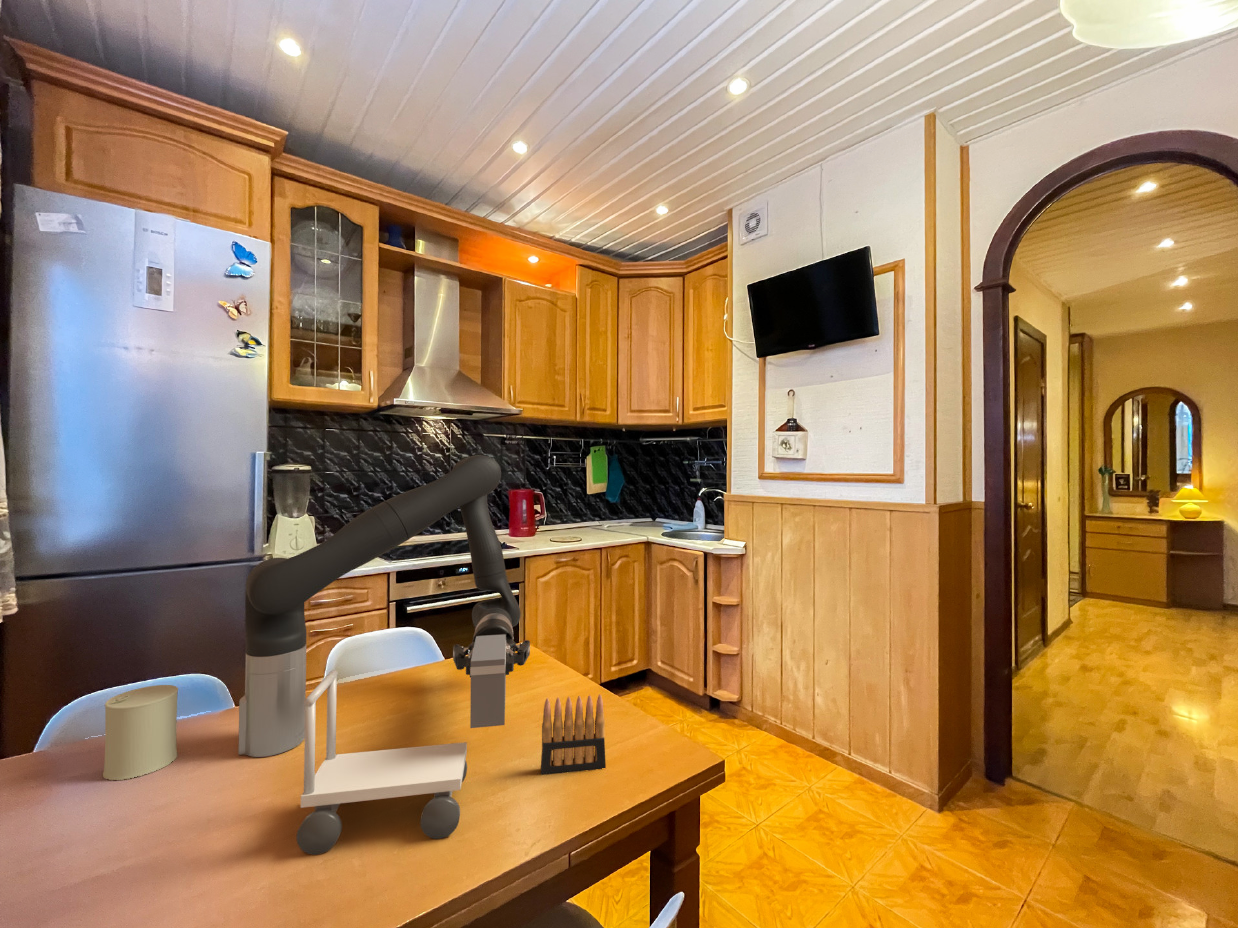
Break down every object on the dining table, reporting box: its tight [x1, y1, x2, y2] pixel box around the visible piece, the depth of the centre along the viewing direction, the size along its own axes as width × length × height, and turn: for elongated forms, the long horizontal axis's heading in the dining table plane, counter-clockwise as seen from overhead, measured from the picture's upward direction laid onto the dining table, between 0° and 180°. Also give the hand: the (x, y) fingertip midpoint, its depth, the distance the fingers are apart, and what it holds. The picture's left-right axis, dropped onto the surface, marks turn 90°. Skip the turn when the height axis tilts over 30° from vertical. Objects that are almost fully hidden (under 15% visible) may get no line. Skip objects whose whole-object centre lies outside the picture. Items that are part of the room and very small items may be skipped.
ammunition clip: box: [540, 694, 607, 776], centre depth 87 cm, size 11×2×12 cm, turn 101°
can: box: [102, 684, 179, 781], centre depth 88 cm, size 9×9×12 cm
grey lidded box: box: [469, 634, 507, 729], centre depth 84 cm, size 5×12×10 cm, turn 12°
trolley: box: [296, 670, 468, 856], centre depth 75 cm, size 20×12×20 cm, turn 101°
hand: (489, 670), depth 85 cm, fingers closed on grey lidded box, 5 cm apart
